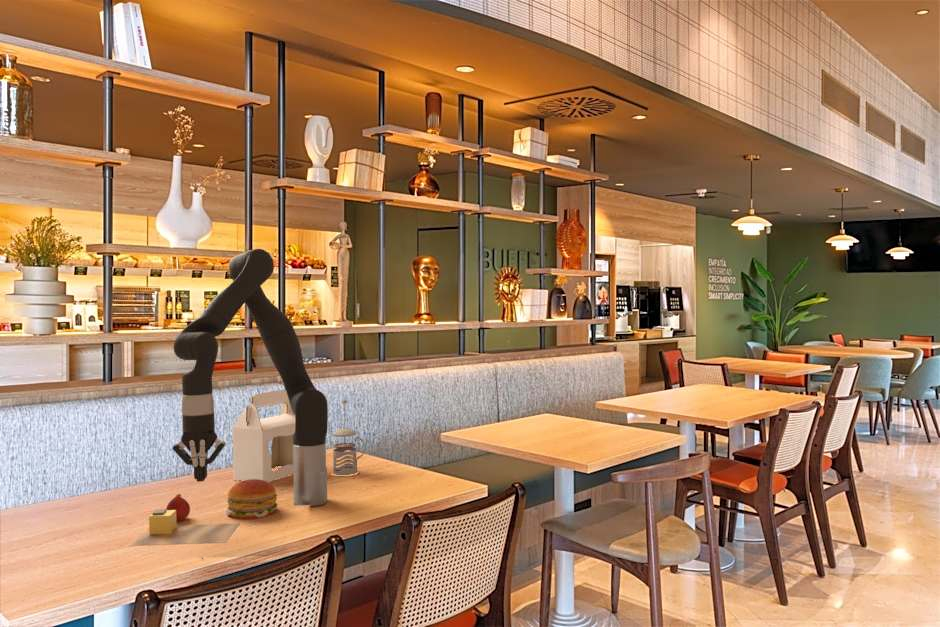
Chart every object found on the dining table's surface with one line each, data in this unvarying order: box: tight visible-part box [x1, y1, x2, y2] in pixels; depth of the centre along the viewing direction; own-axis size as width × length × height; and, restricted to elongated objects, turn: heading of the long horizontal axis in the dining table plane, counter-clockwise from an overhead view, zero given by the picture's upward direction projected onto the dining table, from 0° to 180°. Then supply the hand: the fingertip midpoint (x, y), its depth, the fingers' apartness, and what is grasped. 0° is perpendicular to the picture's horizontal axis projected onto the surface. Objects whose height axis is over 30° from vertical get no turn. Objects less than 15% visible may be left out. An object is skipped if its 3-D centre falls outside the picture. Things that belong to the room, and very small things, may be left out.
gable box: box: [232, 389, 295, 483], centre depth 248 cm, size 22×13×28 cm, turn 152°
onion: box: [165, 493, 191, 523], centre depth 195 cm, size 6×6×8 cm
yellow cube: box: [148, 508, 178, 534], centre depth 185 cm, size 5×5×5 cm
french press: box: [331, 399, 366, 475], centre depth 250 cm, size 10×12×25 cm
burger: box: [226, 479, 279, 520], centre depth 201 cm, size 14×14×10 cm
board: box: [130, 522, 241, 547], centre depth 181 cm, size 22×18×1 cm
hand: (200, 480), depth 185 cm, fingers closed
